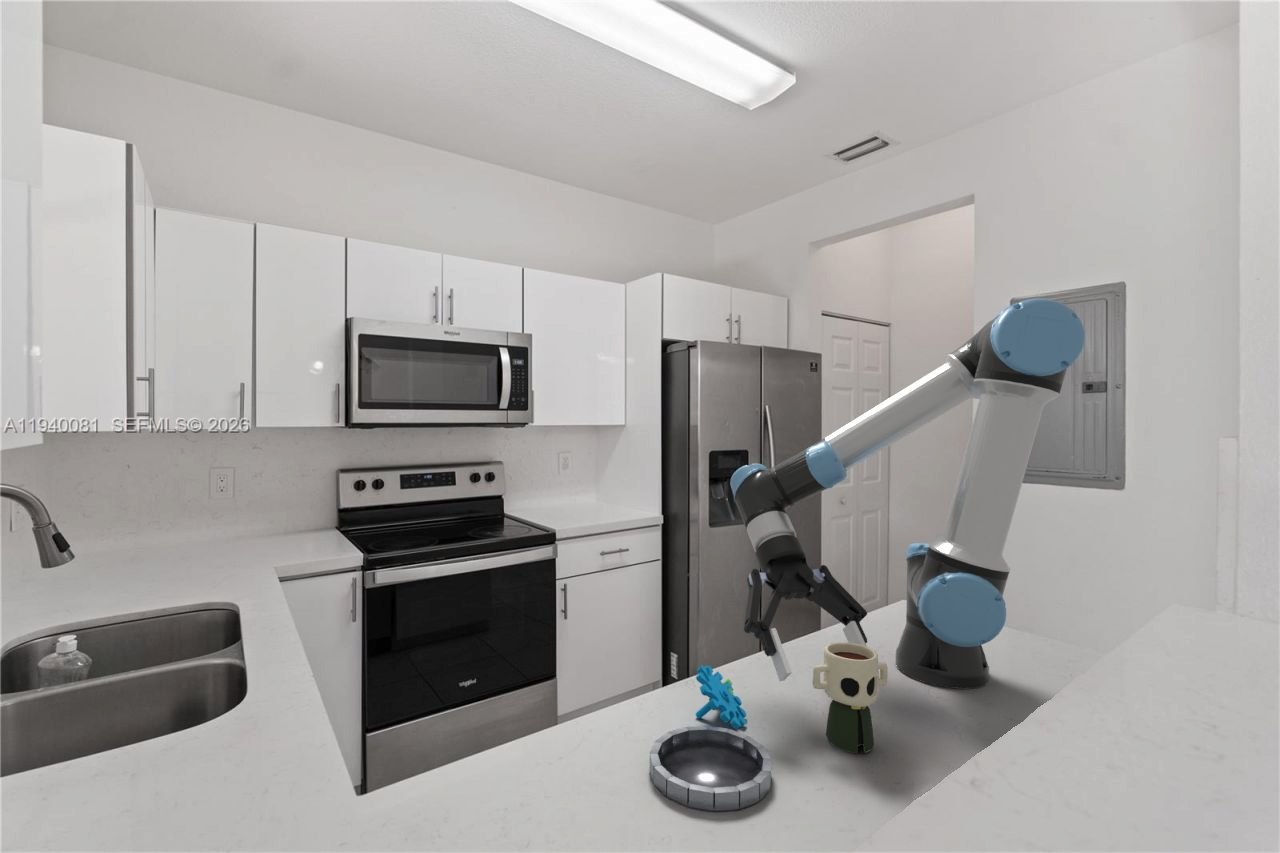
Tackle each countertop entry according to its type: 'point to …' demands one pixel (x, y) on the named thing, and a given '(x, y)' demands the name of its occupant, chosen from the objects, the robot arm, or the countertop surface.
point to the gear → (720, 697)
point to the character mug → (850, 693)
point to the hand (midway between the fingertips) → (827, 672)
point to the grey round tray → (710, 768)
